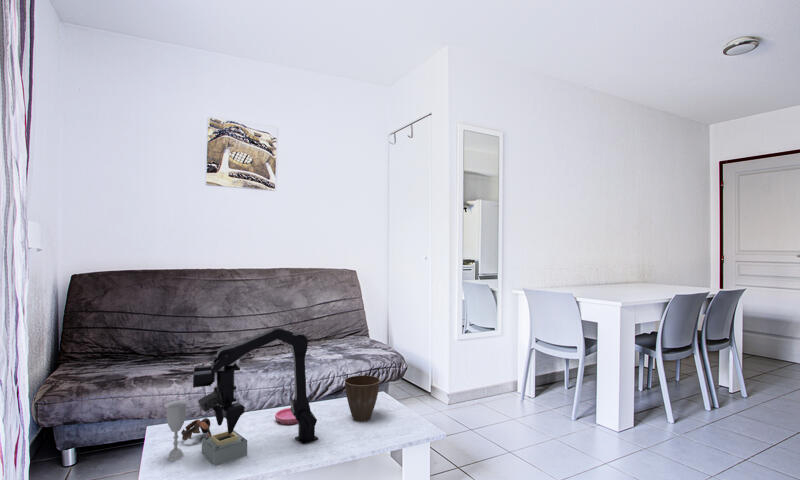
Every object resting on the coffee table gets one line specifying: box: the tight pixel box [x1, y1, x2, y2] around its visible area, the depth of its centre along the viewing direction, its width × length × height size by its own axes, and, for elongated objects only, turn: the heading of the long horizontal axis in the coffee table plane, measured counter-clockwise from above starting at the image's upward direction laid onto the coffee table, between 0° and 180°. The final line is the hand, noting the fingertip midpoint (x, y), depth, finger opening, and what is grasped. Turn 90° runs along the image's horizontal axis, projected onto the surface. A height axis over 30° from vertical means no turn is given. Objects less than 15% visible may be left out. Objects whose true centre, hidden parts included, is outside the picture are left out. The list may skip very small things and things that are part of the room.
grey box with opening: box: [201, 430, 248, 467], centre depth 148 cm, size 12×11×6 cm
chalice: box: [164, 399, 189, 462], centre depth 146 cm, size 7×7×18 cm
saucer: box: [274, 407, 299, 425], centre depth 178 cm, size 12×12×3 cm
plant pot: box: [344, 374, 381, 422], centre depth 181 cm, size 15×15×16 cm
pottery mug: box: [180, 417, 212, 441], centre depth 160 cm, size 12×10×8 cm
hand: (224, 429), depth 148 cm, fingers open, 9 cm apart
